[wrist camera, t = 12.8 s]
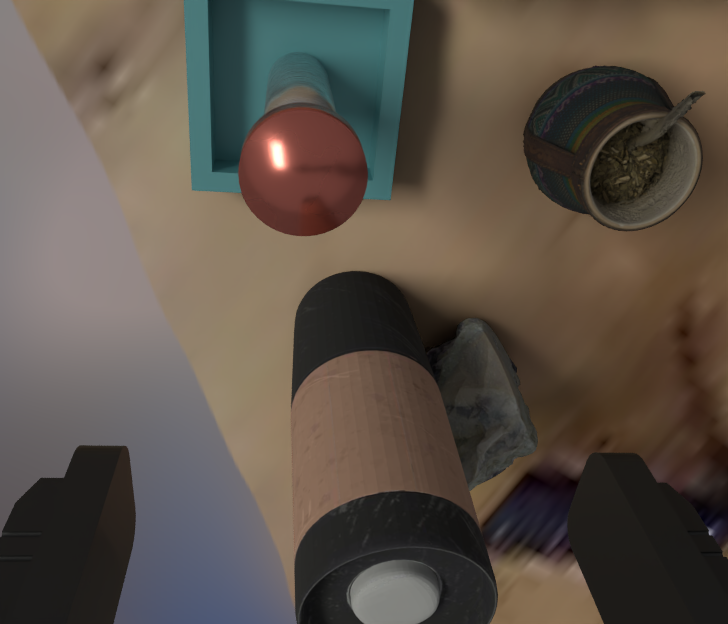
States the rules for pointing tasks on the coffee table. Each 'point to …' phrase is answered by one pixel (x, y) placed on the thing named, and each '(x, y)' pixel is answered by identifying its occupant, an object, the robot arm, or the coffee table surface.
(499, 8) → the coffee table surface
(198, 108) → the tray
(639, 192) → the mate gourd
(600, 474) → the robot arm
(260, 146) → the lock pin
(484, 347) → the mineral rock
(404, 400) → the travel mug
